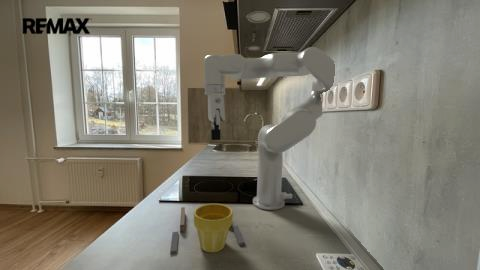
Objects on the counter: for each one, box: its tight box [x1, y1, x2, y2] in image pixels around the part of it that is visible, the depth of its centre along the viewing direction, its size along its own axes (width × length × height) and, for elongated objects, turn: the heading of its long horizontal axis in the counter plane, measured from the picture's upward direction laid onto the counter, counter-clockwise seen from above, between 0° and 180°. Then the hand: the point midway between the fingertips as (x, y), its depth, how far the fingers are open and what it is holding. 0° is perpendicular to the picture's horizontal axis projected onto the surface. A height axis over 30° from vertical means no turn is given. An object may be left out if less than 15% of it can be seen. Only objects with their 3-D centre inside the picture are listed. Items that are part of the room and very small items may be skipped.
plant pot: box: [193, 203, 234, 253], centre depth 59 cm, size 10×10×10 cm
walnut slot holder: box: [179, 203, 232, 234], centre depth 73 cm, size 15×12×2 cm
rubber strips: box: [169, 225, 246, 255], centre depth 62 cm, size 20×9×1 cm, turn 103°
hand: (215, 139), depth 83 cm, fingers closed
